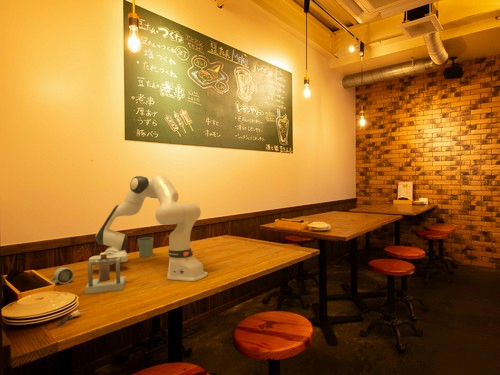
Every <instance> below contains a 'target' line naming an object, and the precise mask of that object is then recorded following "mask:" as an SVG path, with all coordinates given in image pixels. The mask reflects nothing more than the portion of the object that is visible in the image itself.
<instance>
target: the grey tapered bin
mask: <svg viewBox="0 0 500 375" xmlns="http://www.w3.org/2000/svg"><path fill="white" fill-rule="evenodd" d="M137 244H138V245H137V247H138V253H139V257H140V258H142V257H146V258H151V257H153V255H154V252H153V251H154V238H153V237H141V238H138V239H137Z"/></svg>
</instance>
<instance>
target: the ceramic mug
mask: <svg viewBox="0 0 500 375" xmlns="http://www.w3.org/2000/svg"><path fill="white" fill-rule="evenodd" d="M73 278H74V271H73V270H72V269H71V268H68V267H64V266H63V267H59V268H57V269H55V270H54V273H53V277H52V278H51V279H49V280H48V281H51V282H53V283H55V284H57V283H59V284H61V285H66V284H69V283H70V282H72V280H73Z"/></svg>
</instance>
